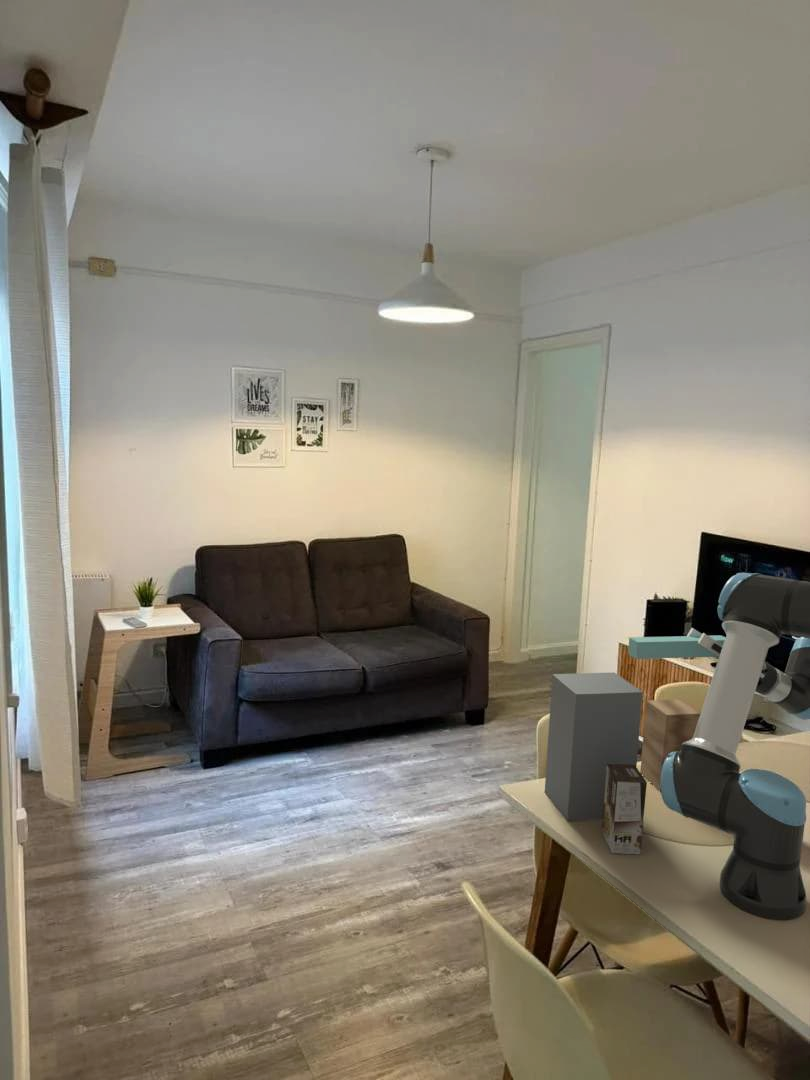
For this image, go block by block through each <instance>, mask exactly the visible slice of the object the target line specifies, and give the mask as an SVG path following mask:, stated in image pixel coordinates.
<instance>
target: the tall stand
mask: <svg viewBox="0 0 810 1080" xmlns="http://www.w3.org/2000/svg"><path fill="white" fill-rule="evenodd" d="M550 691H551V692H550V703H549V704H550V706H549V720H548V735H547V752H546V765H545V767H546V768H545V782H544V793H545V795H546V796H547V797H548V799H549V800H550V801H551V802H552V804H553V805H554V806H555V808H556V809H557V810H558V811H559V813H560V814H561V815H562V816H563V818H564V819H565V821H566V822H575V821H585V820H586V821H588V820H603V812H604V797H605V782H606V769H607V764H631V765H635V766H636V767H637V766H638V765H637V763H638V753H639V743H640V742H639V741H640V730H641V729H640V727H641V718H642V717H641V716H642V706H643V705H642V704H643V694H644V693H643V691H642V690H641V689H639V688H637V686H635V685H633V684H632V683H631V682H628V680H626V679H625V678H623V677H621V676H620V675H618V674H617V673H616V672H589V673H588V672H586V673H585V672H584V673H583V672H582V673H553V674H552V676H551V689H550Z"/></svg>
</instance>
